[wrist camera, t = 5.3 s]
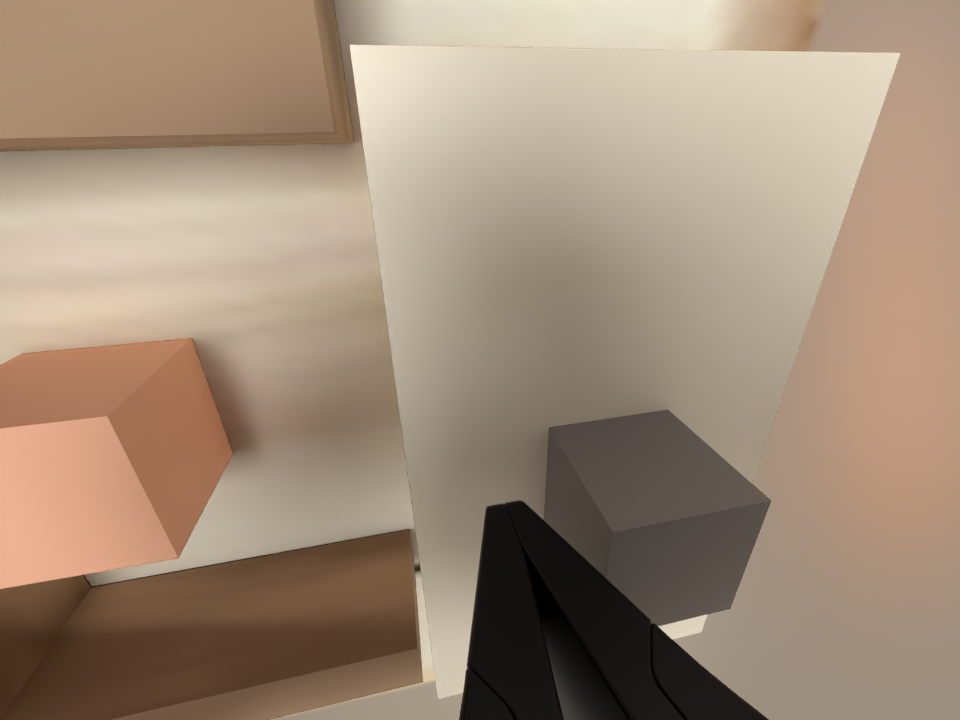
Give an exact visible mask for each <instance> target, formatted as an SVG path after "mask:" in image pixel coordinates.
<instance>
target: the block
mask: <svg viewBox="0 0 960 720" xmlns="http://www.w3.org/2000/svg"><path fill="white" fill-rule="evenodd" d="M232 454H233V452H232V450H231V447H230V444H229V441H228V438H227V436H226V433H225V430H224V427H223V425H222V422H221V419H220V416H219V413H218V411H217V408H216V405H215V402H214V399H213V397H212V394H211V391H210V388H209V385H208V383H207V380H206V377H205V374H204V371H203V369H202V366H201V363H200V360H199V357H198V355H197V352H196V349H195V346H194V344H193V341H192V338H188V339H177V340H166V341H155V342H144V343H133V344H122V345H111V346H100V347H89V348H78V349H67V350H56V351H45V352H34V353H23V354H21V355H19V356H17V357H15V358H13V359H11V360H10V361H8V362H6V363H4V364H2V365H0V589H3V588H9V587H15V586H21V585H26V584H32V583H38V582H44V581H50V580H55V579H61V578H67V577H73V576H79V575H84V574H90V573H96V572H102V571H108V570H114V569H119V568H125V567H131V566H137V565H143V564H148V563H154V562H160V561H166V560H172V559H177V558H179V556H180V554H181V552H182V550H183V549H184V547H185V545H186V543H187V541H188V539H189V537H190V535H191V533H192V531H193V529H194V527H195V525H196V524H197V522H198V520H199V518H200V516H201V514H202V512H203V510H204V508H205V506H206V504H207V502H208V500H209V499H210V497H211V495H212V493H213V491H214V489H215V487H216V485H217V483H218V481H219V479H220V477H221V475H222V473H223V472H224V470H225V468H226V466H227V464H228V462H229V460H230V458H231V456H232Z"/></svg>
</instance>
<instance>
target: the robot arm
mask: <svg viewBox="0 0 960 720" xmlns="http://www.w3.org/2000/svg"><path fill="white" fill-rule="evenodd" d="M459 720H769V719H767V718H766V717H765V716H764V715H762V714H761V713H760V712H759V711H757V710H756V709H755V708H753V707H752V706H751V705H750V704H748V703H747V702H746V701H745V700H743V699H742V698H741V697H739V696H738V695H737V694H736V693H734V692H733V691H732V690H731V689H729V688H728V687H727V686H726V685H725V684H723V683H722V682H721V681H720V680H718V679H717V678H716V677H715V676H714V675H712V674H711V673H710V672H709V671H707V670H706V669H705V668H704V667H703V666H701V665H700V664H699V663H698V662H697V661H696V660H694V659H693V658H692V657H691V656H690V655H689V654H688V653H687V652H686V651H684V650H683V649H682V648H681V647H680V646H679V645H678V644H677V643H675V642H674V641H673V640H672V639H671V638H670V637H669V636H668V635H667V634H666V633H665V632H663V631H662V630H661V629H660V628H659V627H658V626H657V625H656V624H655V623H652V624H651V620H650V619H649V618H648V617H647V616H646V615H645V614H644V613H643V612H642V611H641V610H640V609H639V608H638V607H636V606H635V605H634V604H633V603H632V602H631V601H630V600H629V599H628V598H627V597H626V596H625V595H624V594H623V593H621V592H620V591H619V590H618V589H617V588H616V587H615V586H614V585H613V584H612V583H611V582H610V581H609V580H607V579H606V578H605V577H604V576H603V575H602V574H601V573H600V572H599V571H598V570H597V569H596V568H595V567H594V566H592V565H591V564H590V563H589V562H588V561H587V560H586V559H585V558H584V557H583V556H582V555H581V554H580V553H578V552H577V551H576V550H575V549H574V548H573V547H572V546H571V545H570V544H569V543H568V542H567V541H566V540H565V539H563V538H562V537H561V536H560V535H559V534H558V533H557V532H556V531H555V530H554V529H553V528H552V527H551V526H549V525H548V524H547V523H546V522H545V521H544V520H543V519H542V518H541V517H540V516H539V515H538V514H537V513H536V512H534V511H533V510H532V509H531V508H530V507H529V506H528V505H527V504H526V503H525V502H523V501H521V500H518V501H512V502H507V503H505V504H503V503H501V504H495V505H490V506H487V507H486V511H485V519H484V527H483V535H482V543H481V552H480V560H479V568H478V576H477V585H476V593H475V601H474V609H473V618H472V626H471V634H470V642H469V651H468V659H467V670H466V673H465V682H464V690H463V698H462V704H461V711H460V718H459Z"/></svg>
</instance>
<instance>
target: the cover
mask: <svg viewBox="0 0 960 720" xmlns="http://www.w3.org/2000/svg"><path fill="white" fill-rule="evenodd" d="M350 52H351V60H352V67H353V74H354V82H355V89H356V96H357V104H358V111H359V119H360V126H361V133H362V141H363V148H364V155H365V163H366V170H367V178H368V185H369V192H370V200H371V207H372V214H373V222H374V229H375V237H376V244H377V251H378V259H379V266H380V273H381V281H382V288H383V296H384V303H385V310H386V318H387V325H388V332H389V340H390V347H391V355H392V362H393V369H394V377H395V384H396V391H397V399H398V406H399V414H400V421H401V428H402V436H403V443H404V450H405V458H406V465H407V473H408V480H409V487H410V495H411V502H412V509H413V517H414V524H415V532H416V539H417V546H418V554H419V561H420V568H421V576H422V583H423V591H424V598H425V605H426V613H427V620H428V627H429V635H430V642H431V650H432V657H433V664H434V672H435V679H436V686H437V694H438V699H440V698H445V697H448V696H452V695H456V694H460V693H463V690H464V682H465V673H466V670H467V659H468V651H469V642H470V634H471V626H472V618H473V609H474V601H475V593H476V585H477V576H478V568H479V560H480V552H481V543H482V535H483V527H484V519H485V511H486V507H487V506H490V505H495V504H501V503H503V504H505V503H507V502H512V501H518V500H521V501H523V502H525V503H526V504H527V505H528V506H529V507H530V508H531V509H532V510H533V511H534V512H536V513H537V514H538V515H539V516H540V517H541V518H542V519H543V520H544V521H545V522H546V523H547V524H548V525H549V526H551V527H552V528H553V529H554V530H555V531H556V532H557V533H558V534H559V535H560V536H561V537H562V538H563V539H565V540H566V541H567V542H568V543H569V544H570V545H571V546H572V547H573V548H574V549H575V550H576V551H577V552H578V553H580V554H581V555H582V556H583V557H584V558H585V559H586V560H587V561H588V562H589V563H590V564H591V565H592V566H594V567H595V568H596V569H597V570H598V571H599V572H600V573H601V574H602V575H603V576H604V577H605V578H606V579H607V580H609V581H610V582H611V583H612V584H613V585H614V586H615V587H616V588H617V589H618V590H619V591H620V592H621V593H623V594H624V595H625V596H626V597H627V598H628V599H629V600H630V601H631V602H632V603H633V604H634V605H635V606H636V607H638V608H639V609H640V610H641V611H642V612H643V613H644V614H645V615H646V616H647V617H648V618H649V619H650V620H651V624H652V623H655V624H656V625H657V626H658V627H659V628H660V629H661V630H662V631H663V632H665V633H666V634H667V635H668V636H669V637H670V638H671V639H676V638H680V637H684V636H688V635H691V634H695V633H700V632H701V631H702V629H703V626H704V623H705V620H706V617H707V614H711V613H715V612H719V611H723V610H727V609H730V608H731V605H732V603H733V600H734V597H735V595H736V592H737V589H738V587H739V584H740V582H741V579H742V576H743V574H744V571H745V568H746V566H747V563H748V560H749V558H750V555H751V553H752V550H753V547H754V545H755V542H756V539H757V537H758V534H759V532H760V529H761V526H762V524H763V521H764V518H765V516H766V513H767V510H768V508H769V505H770V502H771V500H770V499H769V498H768V497H766V496H765V495H764V494H763V493H762V492H761V491H760V490H758V489H757V488H756V487H755V486H754V485H753V484H752V483H753V481H754V478H755V475H756V472H757V469H758V466H759V463H760V460H761V457H762V454H763V451H764V448H765V446H766V443H767V440H768V437H769V434H770V431H771V428H772V425H773V422H774V419H775V417H776V414H777V411H778V408H779V405H780V402H781V399H782V396H783V393H784V390H785V387H786V385H787V382H788V379H789V376H790V373H791V370H792V367H793V364H794V361H795V358H796V355H797V353H798V350H799V347H800V344H801V341H802V338H803V335H804V332H805V329H806V326H807V323H808V321H809V318H810V315H811V312H812V309H813V306H814V303H815V300H816V297H817V294H818V292H819V289H820V286H821V283H822V279H823V277H824V274H825V271H826V268H827V265H828V262H829V260H830V257H831V254H832V251H833V248H834V245H835V242H836V239H837V236H838V233H839V230H840V228H841V225H842V222H843V219H844V216H845V213H846V210H847V207H848V204H849V201H850V198H851V196H852V192H853V190H854V187H855V184H856V181H857V178H858V175H859V172H860V169H861V166H862V164H863V161H864V158H865V155H866V152H867V149H868V146H869V143H870V140H871V137H872V135H873V132H874V129H875V126H876V123H877V120H878V117H879V114H880V111H881V108H882V105H883V103H884V100H885V97H886V94H887V91H888V88H889V85H890V82H891V79H892V76H893V73H894V70H895V68H896V65H897V62H898V59H899V56H900V53H862V52H796V51H730V50H665V49H599V48H533V47H468V46H402V45H350Z"/></svg>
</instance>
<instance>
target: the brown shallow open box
mask: <svg viewBox="0 0 960 720" xmlns="http://www.w3.org/2000/svg"><path fill="white" fill-rule="evenodd" d="M323 143H354V140H353V133H352V126H351V119H350V112H349V105H348V98H347V91H346V84H345V77H344V70H343V63H342V56H341V49H340V42H339V35H338V29H337V22H336V15H335V8H334V1H333V0H0V151H30V150H72V149H114V148H156V147H198V146H240V145H281V144H323ZM421 682H423V676H422V662H421V649H420V635H419V621H418V607H417V594H416V580H415V566H414V557H413V550H412V543H411V536H410V530H404V531H399V532H393V533H388V534H382V535H377V536H371V537H366V538H360V539H355V540H349V541H344V542H338V543H333V544H327V545H322V546H316V547H311V548H305V549H300V550H294V551H289V552H283V553H278V554H272V555H267V556H261V557H256V558H251V559H245V560H240V561H234V562H229V563H223V564H218V565H212V566H207V567H201V568H196V569H190V570H185V571H179V572H174V573H168V574H163V575H157V576H152V577H146V578H141V579H135V580H130V581H124V582H119V583H113V584H108V585H102V586H97V587H90V585H89V584H88V582H87V581H86V579H85V578H84V577H83V575H79V576H73V577H67V578H61V579H55V580H50V581H44V582H38V583H32V584H26V585H21V586H15V587H9V588H3V589H0V720H270V719H274V718H278V717H282V716H286V715H290V714H295V713H299V712H303V711H307V710H311V709H315V708H319V707H323V706H327V705H331V704H335V703H339V702H343V701H347V700H351V699H355V698H360V697H364V696H368V695H372V694H376V693H380V692H384V691H388V690H392V689H396V688H400V687H404V686H408V685H412V684H416V683H421Z"/></svg>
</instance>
